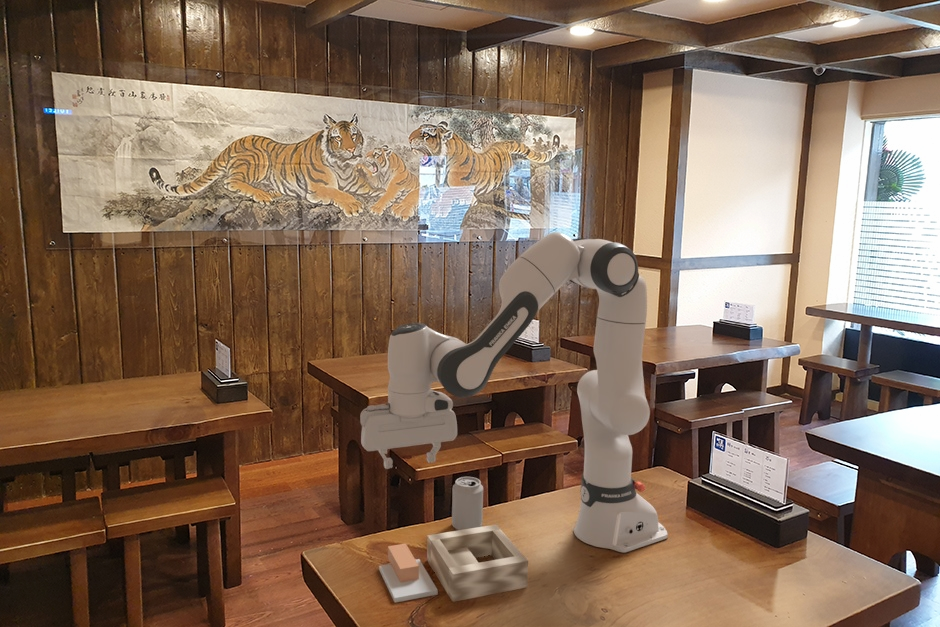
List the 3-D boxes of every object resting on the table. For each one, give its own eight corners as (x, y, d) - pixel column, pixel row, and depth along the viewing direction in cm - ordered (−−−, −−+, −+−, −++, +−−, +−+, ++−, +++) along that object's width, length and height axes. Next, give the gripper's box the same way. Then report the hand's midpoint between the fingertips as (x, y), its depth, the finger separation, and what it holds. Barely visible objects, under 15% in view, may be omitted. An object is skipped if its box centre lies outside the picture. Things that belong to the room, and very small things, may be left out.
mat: (419, 563, 157) (419, 558, 157) (437, 594, 145) (437, 589, 145) (379, 570, 154) (379, 565, 154) (394, 602, 142) (394, 598, 142)
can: (479, 536, 170) (480, 488, 168) (448, 532, 171) (449, 485, 169) (484, 522, 177) (486, 476, 175) (455, 518, 178) (456, 473, 176)
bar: (418, 579, 149) (418, 565, 148) (400, 582, 147) (400, 569, 147) (405, 556, 158) (405, 543, 157) (388, 558, 156) (388, 546, 156)
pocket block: (495, 548, 164) (496, 524, 163) (527, 587, 148) (528, 560, 147) (427, 560, 158) (427, 535, 157) (452, 601, 142) (453, 574, 141)
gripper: (363, 411, 141) (364, 477, 144) (460, 400, 148) (459, 463, 151) (356, 402, 147) (358, 465, 149) (449, 392, 154) (449, 453, 157)
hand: (409, 464), depth 150 cm, fingers open, 8 cm apart
